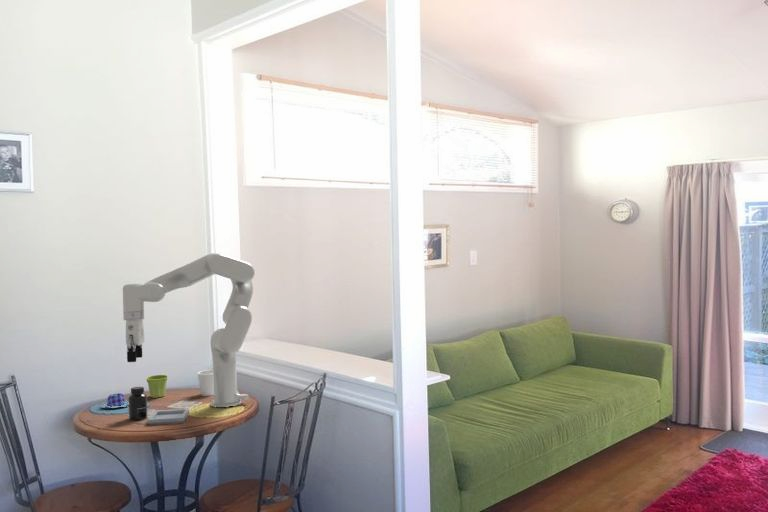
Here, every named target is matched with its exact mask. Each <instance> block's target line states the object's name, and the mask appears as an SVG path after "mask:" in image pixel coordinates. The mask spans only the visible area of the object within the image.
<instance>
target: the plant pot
mask: <svg viewBox="0 0 768 512" xmlns="http://www.w3.org/2000/svg"><path fill="white" fill-rule="evenodd" d="M168 377H169V375H167V374H156V375H151V376H150V375H149V376H147V377H145V380H146V382H147V385H148V391H149V396H150V398H153V399H159V398H163V396H164V397H165V396H166V389H167V381H168ZM158 397H159V398H158Z"/></svg>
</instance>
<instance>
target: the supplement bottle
mask: <svg viewBox="0 0 768 512" xmlns="http://www.w3.org/2000/svg"><path fill="white" fill-rule="evenodd" d="M127 398H128V401H127V402H128V404H129V406H128V419H129V420H131V421H141V420H145V419H147V418H148V396H147V395H146V393H145V387H144V386H134V387H131V388H130V395H129V396H128V397H127Z"/></svg>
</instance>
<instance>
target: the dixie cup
mask: <svg viewBox="0 0 768 512" xmlns="http://www.w3.org/2000/svg"><path fill="white" fill-rule="evenodd" d="M196 374H197V379H198V382H199V385H198V386H199V391H200V395H201V396H203V397H207V396H209V397H210V396H214V383H213V369H207V370H206V369H205V370H201V371H197V373H196Z"/></svg>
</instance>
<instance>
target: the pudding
mask: <svg viewBox="0 0 768 512" xmlns="http://www.w3.org/2000/svg"><path fill="white" fill-rule="evenodd" d="M125 398H126V397H125V396H124V394H123V393H120V392H119V393H112V394H111V393H110V394H109V395H108V398H107V402H106V404H107V405H106V406H110V407H112V406H121V405H124V404H126V402H127V401H126V399H125Z"/></svg>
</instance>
